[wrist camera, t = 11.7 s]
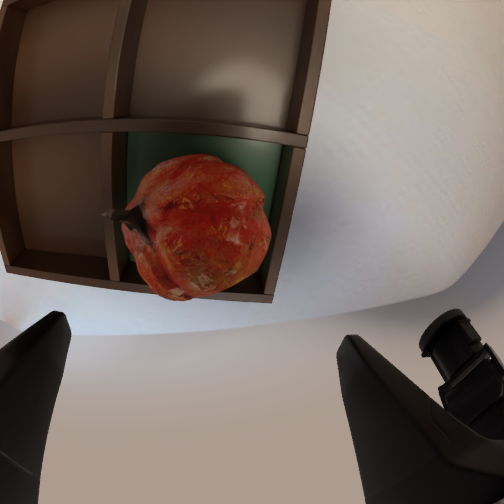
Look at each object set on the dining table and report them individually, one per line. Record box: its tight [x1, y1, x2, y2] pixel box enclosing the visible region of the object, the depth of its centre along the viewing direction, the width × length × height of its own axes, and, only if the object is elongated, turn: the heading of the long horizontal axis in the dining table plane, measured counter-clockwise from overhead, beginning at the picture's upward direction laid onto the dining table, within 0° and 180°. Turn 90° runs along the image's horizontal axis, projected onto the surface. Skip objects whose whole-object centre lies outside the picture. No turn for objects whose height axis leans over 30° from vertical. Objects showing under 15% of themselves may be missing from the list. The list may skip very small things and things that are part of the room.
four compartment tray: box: [0, 0, 331, 303], centre depth 13 cm, size 20×20×3 cm
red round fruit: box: [101, 154, 271, 301], centre depth 14 cm, size 7×7×10 cm
